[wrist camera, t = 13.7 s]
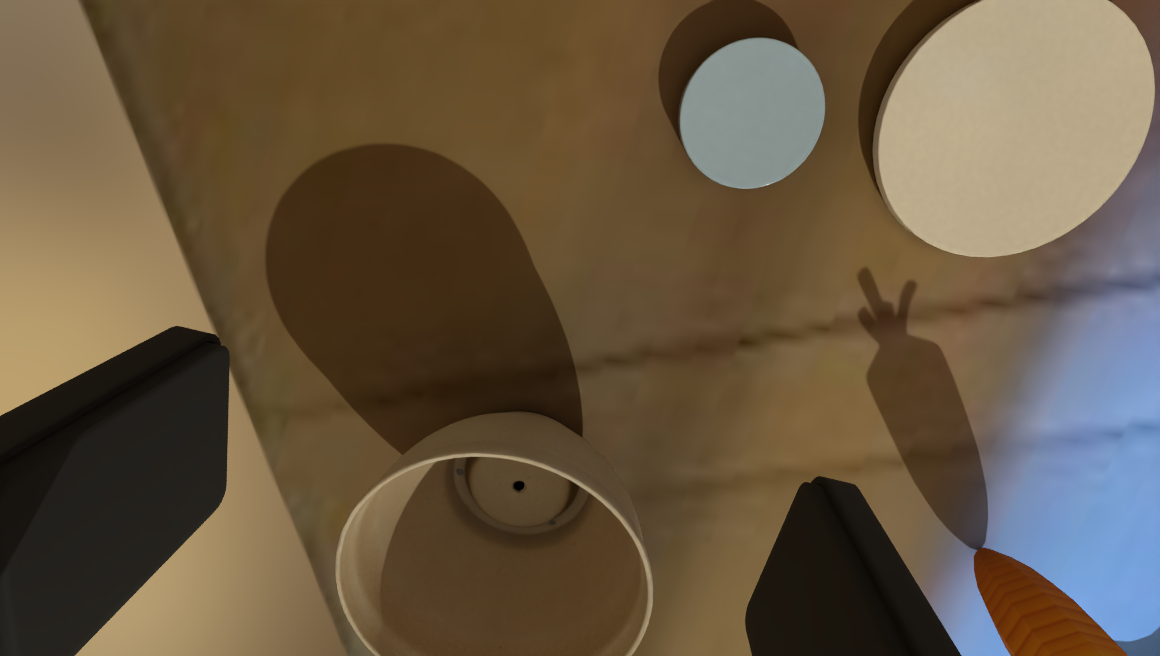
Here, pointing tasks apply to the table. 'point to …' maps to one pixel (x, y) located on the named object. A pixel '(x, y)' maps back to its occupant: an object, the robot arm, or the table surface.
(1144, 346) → the table surface
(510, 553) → the planter bowl
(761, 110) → the blue-grey cylinder
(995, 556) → the carrot
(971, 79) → the dessert plate
